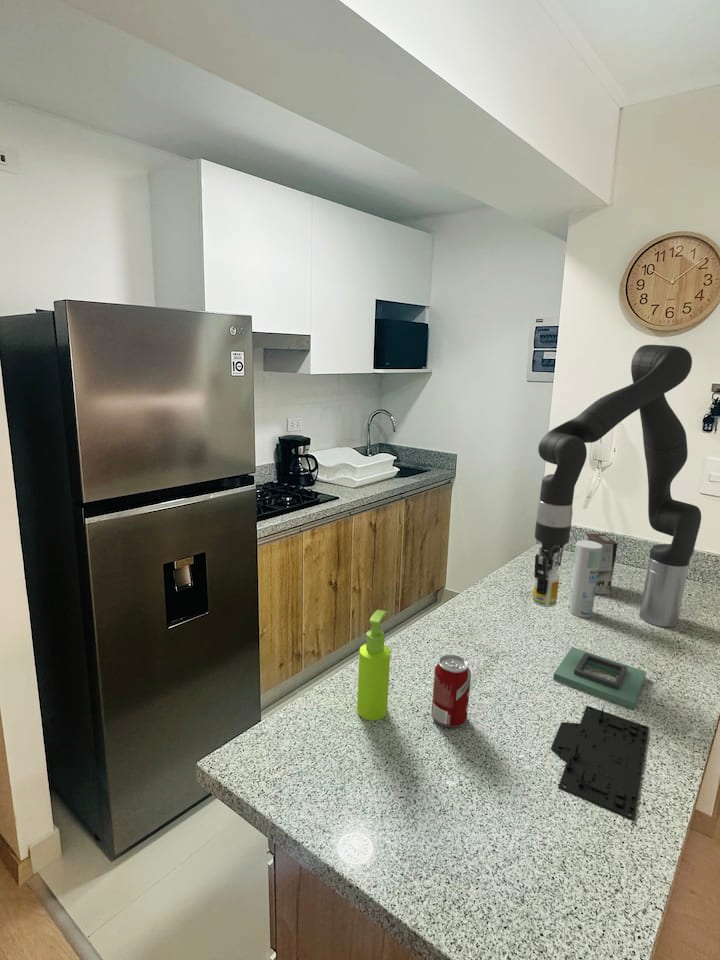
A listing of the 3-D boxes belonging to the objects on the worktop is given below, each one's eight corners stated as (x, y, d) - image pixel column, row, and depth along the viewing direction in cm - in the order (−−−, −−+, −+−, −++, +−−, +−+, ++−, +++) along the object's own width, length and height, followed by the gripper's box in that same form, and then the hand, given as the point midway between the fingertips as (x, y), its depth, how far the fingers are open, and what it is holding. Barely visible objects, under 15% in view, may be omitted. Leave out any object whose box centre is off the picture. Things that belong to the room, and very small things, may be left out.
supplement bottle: (552, 598, 129) (557, 560, 127) (558, 608, 124) (563, 569, 122) (530, 596, 130) (534, 559, 127) (534, 606, 124) (539, 568, 122)
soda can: (445, 734, 99) (449, 677, 96) (424, 712, 104) (428, 657, 102) (473, 724, 102) (479, 668, 99) (452, 703, 108) (457, 649, 105)
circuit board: (633, 823, 82) (636, 807, 81) (538, 782, 89) (540, 766, 88) (648, 730, 102) (650, 717, 102) (570, 703, 110) (571, 690, 109)
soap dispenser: (392, 702, 107) (397, 610, 103) (382, 723, 101) (387, 627, 96) (364, 695, 109) (368, 605, 104) (352, 716, 103) (356, 621, 98)
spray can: (584, 620, 144) (594, 550, 139) (562, 610, 149) (571, 542, 144) (596, 613, 148) (607, 545, 143) (574, 604, 153) (584, 538, 148)
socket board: (571, 652, 128) (572, 642, 127) (645, 677, 119) (647, 667, 118) (553, 679, 117) (554, 669, 116) (633, 709, 108) (635, 698, 107)
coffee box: (610, 594, 160) (618, 543, 156) (589, 593, 160) (596, 542, 156) (598, 581, 169) (605, 533, 165) (577, 581, 169) (584, 532, 165)
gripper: (561, 532, 114) (552, 604, 118) (579, 516, 125) (570, 583, 129) (526, 525, 118) (519, 595, 122) (547, 510, 130) (539, 575, 134)
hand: (545, 588), depth 126 cm, fingers closed on supplement bottle, 5 cm apart
